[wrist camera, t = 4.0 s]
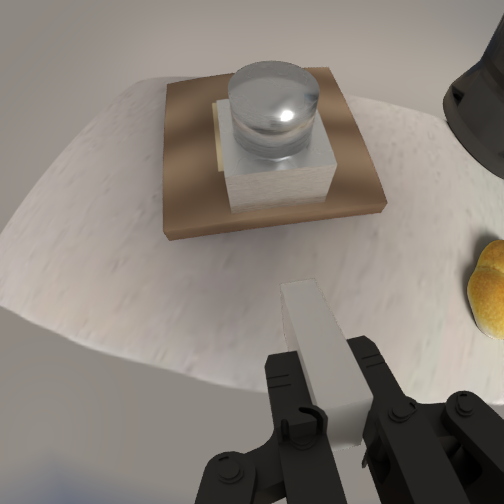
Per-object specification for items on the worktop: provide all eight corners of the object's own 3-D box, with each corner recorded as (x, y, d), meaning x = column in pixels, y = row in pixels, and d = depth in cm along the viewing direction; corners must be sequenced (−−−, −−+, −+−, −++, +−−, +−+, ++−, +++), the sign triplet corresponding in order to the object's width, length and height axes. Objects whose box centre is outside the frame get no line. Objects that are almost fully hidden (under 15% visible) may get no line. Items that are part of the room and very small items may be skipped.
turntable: (380, 212, 23) (387, 202, 21) (169, 240, 22) (163, 231, 21) (326, 78, 28) (328, 67, 26) (170, 95, 28) (167, 84, 26)
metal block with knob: (324, 202, 21) (350, 123, 14) (231, 213, 21) (216, 135, 13) (304, 132, 23) (316, 52, 16) (223, 141, 23) (209, 60, 16)
